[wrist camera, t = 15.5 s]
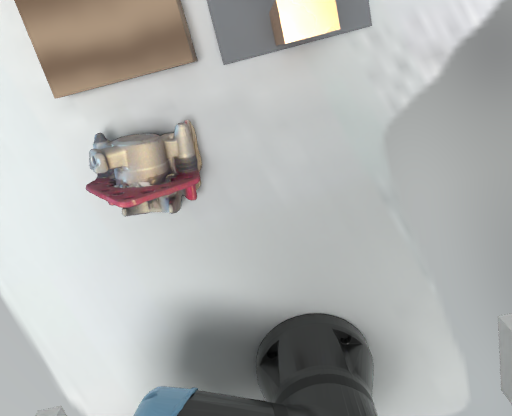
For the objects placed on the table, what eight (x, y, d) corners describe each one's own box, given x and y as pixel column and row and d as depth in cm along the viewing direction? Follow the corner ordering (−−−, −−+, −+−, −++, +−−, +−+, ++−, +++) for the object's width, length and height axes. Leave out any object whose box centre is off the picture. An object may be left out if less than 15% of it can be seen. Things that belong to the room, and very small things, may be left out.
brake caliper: (108, 238, 46) (54, 207, 34) (111, 147, 49) (63, 92, 37) (210, 230, 46) (189, 197, 34) (207, 140, 49) (187, 82, 37)
